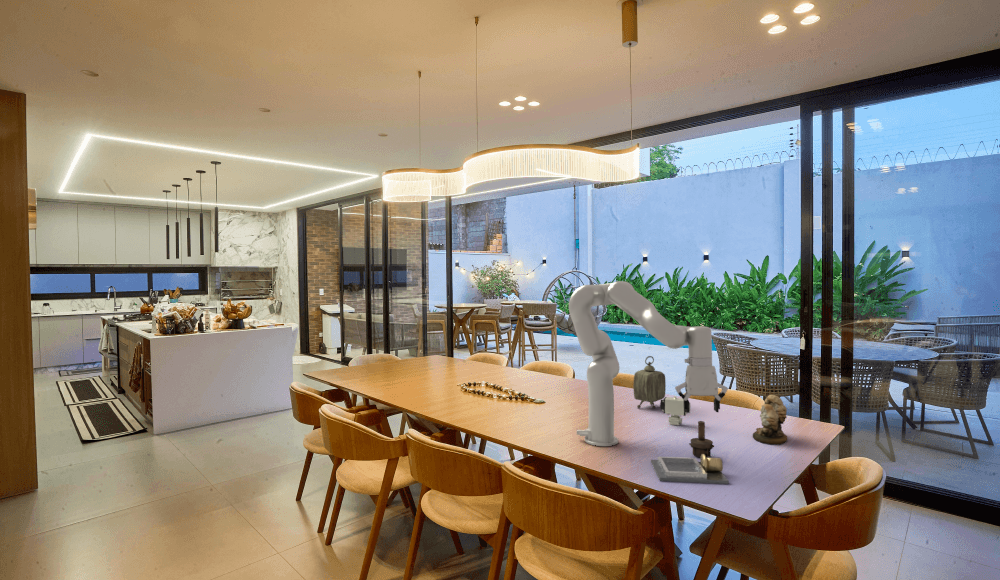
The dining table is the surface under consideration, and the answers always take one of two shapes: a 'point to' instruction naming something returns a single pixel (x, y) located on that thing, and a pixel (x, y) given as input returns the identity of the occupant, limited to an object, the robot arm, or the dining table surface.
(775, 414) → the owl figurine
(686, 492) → the dining table surface
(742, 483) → the dining table surface
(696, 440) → the industrial component
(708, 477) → the mounting plate
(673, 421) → the pneumatic valve
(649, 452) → the dining table surface
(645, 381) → the tabletop clock
